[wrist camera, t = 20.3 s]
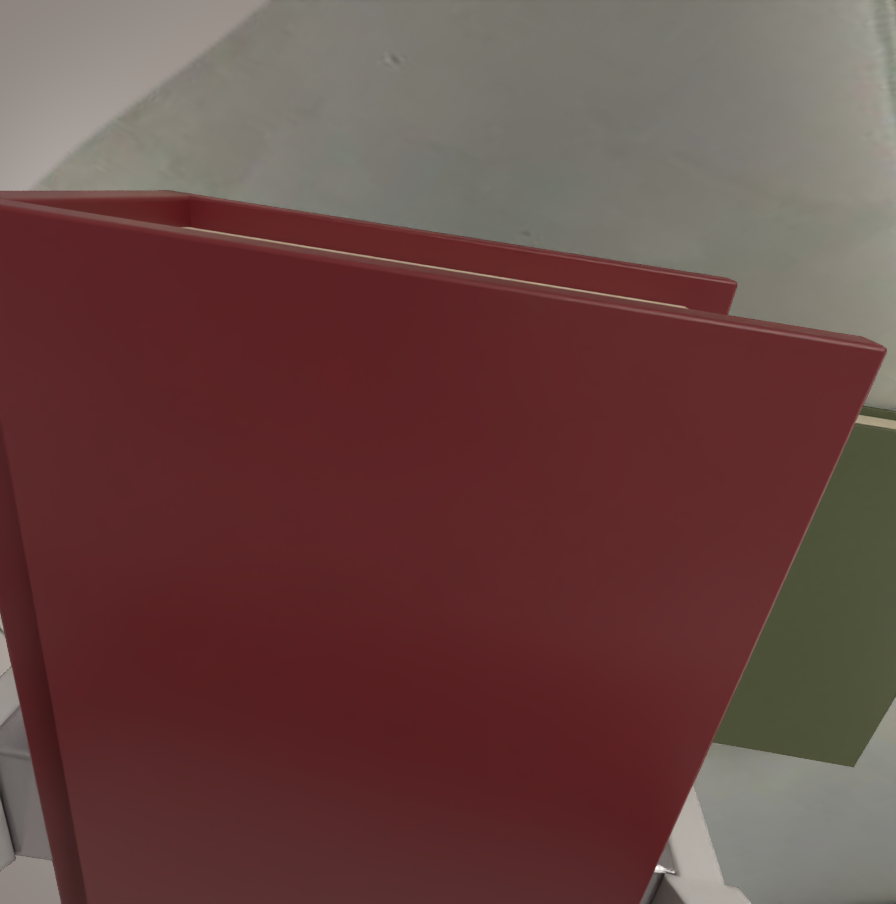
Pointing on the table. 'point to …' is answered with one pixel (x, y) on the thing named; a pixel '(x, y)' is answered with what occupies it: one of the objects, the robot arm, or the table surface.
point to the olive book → (830, 618)
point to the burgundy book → (382, 547)
